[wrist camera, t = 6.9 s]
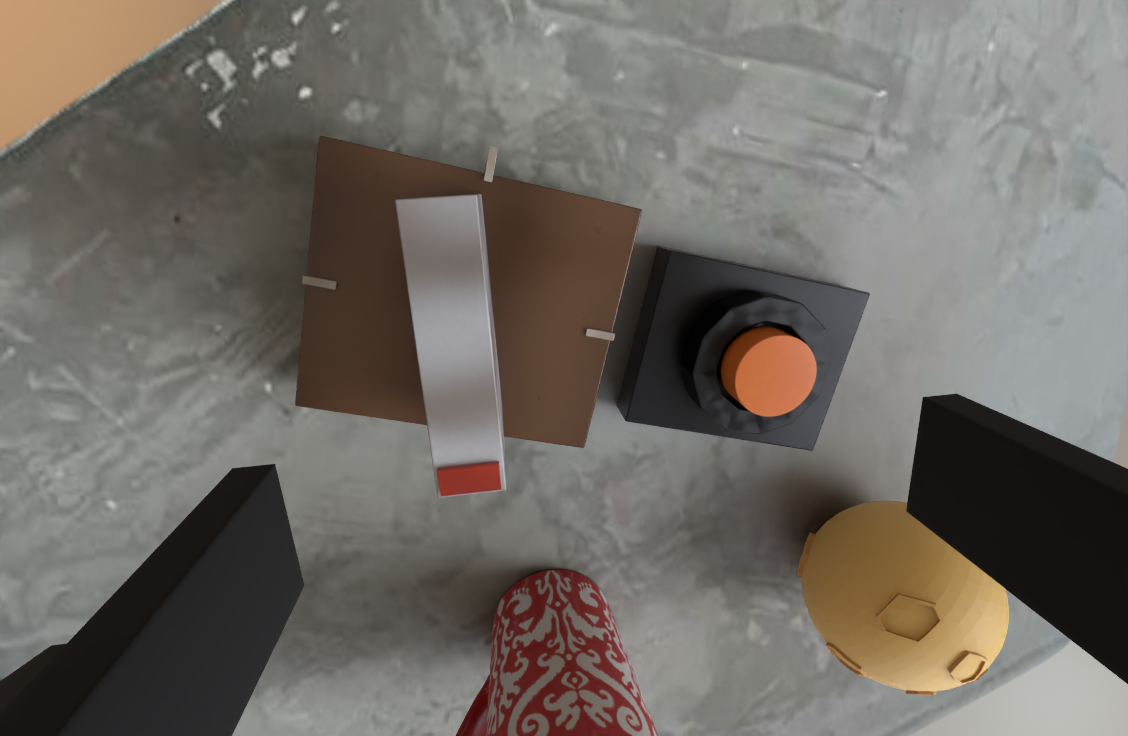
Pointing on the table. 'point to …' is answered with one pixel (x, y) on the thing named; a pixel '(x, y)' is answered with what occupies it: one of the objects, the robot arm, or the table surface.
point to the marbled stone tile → (455, 340)
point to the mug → (557, 666)
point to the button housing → (706, 329)
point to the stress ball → (901, 600)
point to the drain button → (768, 371)
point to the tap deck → (517, 279)
